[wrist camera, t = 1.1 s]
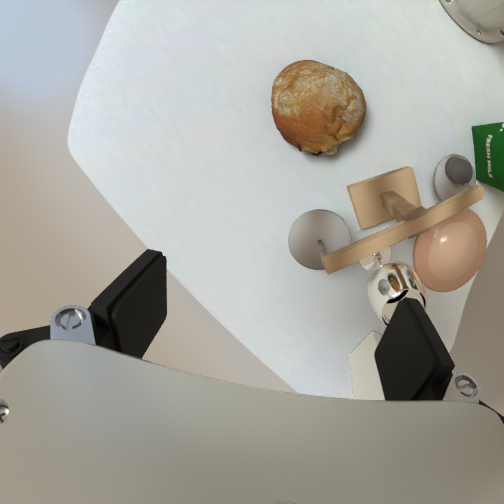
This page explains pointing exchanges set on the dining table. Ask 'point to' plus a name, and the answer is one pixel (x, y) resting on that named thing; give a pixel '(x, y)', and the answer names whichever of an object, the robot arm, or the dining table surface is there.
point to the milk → (366, 369)
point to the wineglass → (390, 284)
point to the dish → (450, 251)
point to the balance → (382, 214)
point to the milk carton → (489, 154)
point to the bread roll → (316, 106)
